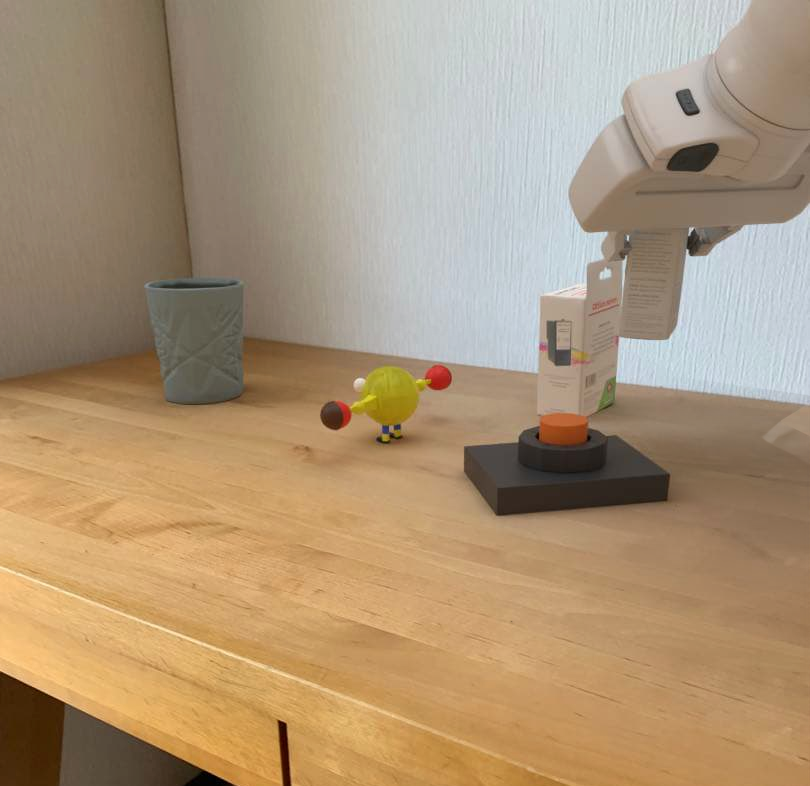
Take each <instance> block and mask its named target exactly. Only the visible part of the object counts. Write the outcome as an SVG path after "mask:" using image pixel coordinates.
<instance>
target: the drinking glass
mask: <svg viewBox="0 0 810 786" xmlns="http://www.w3.org/2000/svg"><path fill="white" fill-rule="evenodd" d="M244 285H245V284H244V282H243V281H242V280H240V279H235V278H228V277H227V278H226V277H185V278H183V277H182V278H169V279H163V280H156V281H150V282H147V283H146V284H144V285H143V286H144V287H143V288H144V291H145V292H144V293H145V296H146V301H147V306H148V309H149V316H150V322H151V327H152V328H153V334H154V335H155V336H154V341H155V348H156V355H157V358H158V359H159V363H160V368H159V369H160V376H161V382H162V385H163V386H162V388H163V393H164V397H165V399H166V400H167V401H169V402H171V403H175V404H182V405H207V404H216V403H222V402H227V401H231V400H233V399H236V398H238V397H241V396H242V395H243V392H244V365H243V363H242V362H243V361H242V359H243V357H244V335H243V333H242V329H243V324H244Z"/></svg>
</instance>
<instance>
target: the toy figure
mask: <svg viewBox="0 0 810 786" xmlns="http://www.w3.org/2000/svg"><path fill="white" fill-rule="evenodd" d="M452 382H453V377H452V372H451V370H449V368H447V366H444V365H441V364H435V365H433V366H432V367H431V368H428V369H427V371H426V373H425V375H424V379H421V378H418V379H416V380H415V378H414V377H413V376H412V375H411V373H409V372H408V371H407V370H405V369H403V368H401V367H398V366H394V365H386V366H382V367H377V368H376V369H375V370H374V369H373V370H372V372H371V373H369V374H368V375H367V376H366V377H365V378H364V377H363V378H362V377H359V378H357V379H355V381H354V382H353V389H354V391H355V392H357V393H360V397H359V398H360V400H358V401H355V402H353V403H352V404H351V406H349V405H348V404H347V403H345V402H343V401H340V400H330V401H328V402H325V404H324V405H323V406H322V408H321V409H320V412H319V413H320V414H319V417H320V421H321V423H322V424H323V426H324V427H326V428H327V429H329V430H331V431H339V430H342V429H343V428H346V427H347V426H348V425H349V424H350V422H351V420H352V416H353V415H352V414H355V415H358V416H359V415H363V414H364V413H365V414H366V415H367V416H368V418H370V420H372V421H374V422H375V423H377V424H379V425H381V436H377V437H376V438H375V441H377V442H379V443H381V444H384V445H389V444H390V443H391V439H394V440H398V439H399V440H400V439H402V438H403V434H402V424H403V423H405V422H406V421H408V420H409V419H410V418H411V417H413V415H414V414H415V412H416V410H417V409H418V405H419V403H420V392H424V391H425V390H427V388H429V389H431V390H432V391H443V390H446V389H448V388H449V387H450V386H451V384H452ZM391 426H393V432H391V431H390V427H391Z"/></svg>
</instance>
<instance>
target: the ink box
mask: <svg viewBox="0 0 810 786" xmlns="http://www.w3.org/2000/svg"><path fill="white" fill-rule="evenodd" d="M623 261H624V260H623ZM623 261H612V262H606V261H605V259H604V257H603V258H600V259H598V260H594V261H589V262H588V263H587V265H586V283H582V282H581V283H576V284H573V285H571V286H568V287H565V288H562V289H558V290H554V291H551V292H548V293H543V294H540V295H539V298H540V299H539V305H540V306H539V331H538V332H539V333H538V335H539V337H538V363H537V365H538V367H537V368H538V369H537V395H536V397H537V399H536V415H537V416H541V417H542V416H544V415H548V414H553V413H571V414H577V415H581V416H584V417H586V418H588V417H590V416H592V415H593V414H595V413H597V412H599V411H600V410H603V409H604V408H606V407H608V406H610V405H612V404H613V403H615V399H616V387H617V386H616V385H617V372H618V358H619V344H620V343H619V342H620V337H619V326H620V316H621V307H622V298H623V289H624V287H623ZM605 269H606V270H607V271H609V270H610V276H607V277H604V278H600V277H601V275H600V274H601V273H602V272H604V271H605Z"/></svg>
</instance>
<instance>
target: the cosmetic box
mask: <svg viewBox="0 0 810 786" xmlns="http://www.w3.org/2000/svg"><path fill="white" fill-rule="evenodd" d="M688 236H690V228H673V229H653V230H634V231H633V232H632V234H631V235H629V236H628V241H629V243H630V245H631V247H632V249H631V251H630V252H629V253H628V254H627V255H626V263H625V269H624V278H623V279H624V281H623V289H622V303H621V316H620V326H619V338H624V339H630V340H632V339H633V340H644V341H667V340H669V339H670V337H671V336H672V334H673V333H674V331H675V330H676V328H677V326H678V321H679V313H680V307H681V300H682V299H681V298H682V289H683V282H684V273H685V267H686V257H687V251H688V249H687V243H688Z"/></svg>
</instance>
